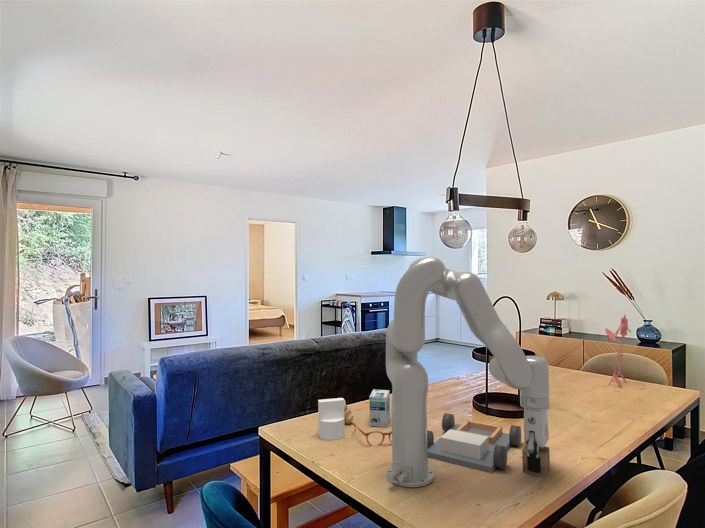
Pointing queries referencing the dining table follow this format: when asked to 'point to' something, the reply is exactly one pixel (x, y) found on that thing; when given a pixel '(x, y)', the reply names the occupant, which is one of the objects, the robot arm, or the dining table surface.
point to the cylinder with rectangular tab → (331, 418)
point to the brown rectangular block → (544, 461)
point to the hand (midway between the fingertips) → (536, 466)
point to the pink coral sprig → (623, 332)
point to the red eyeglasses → (374, 432)
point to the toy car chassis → (473, 444)
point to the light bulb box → (379, 408)
